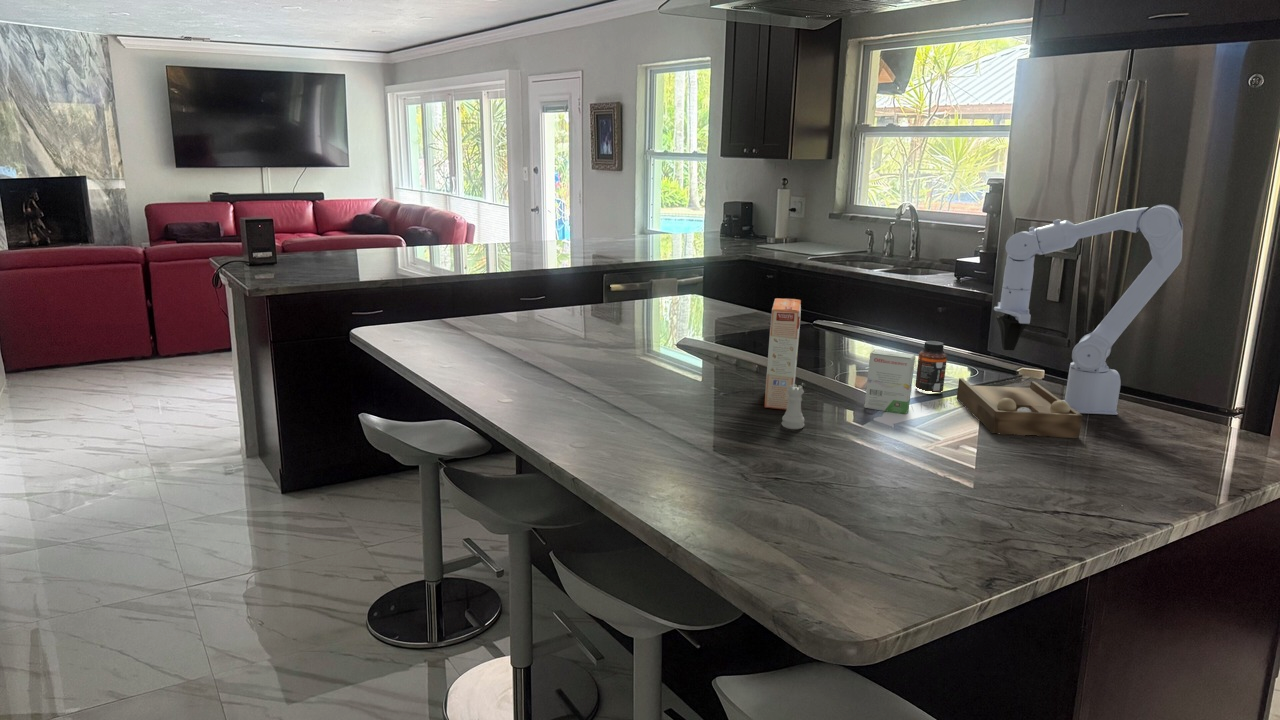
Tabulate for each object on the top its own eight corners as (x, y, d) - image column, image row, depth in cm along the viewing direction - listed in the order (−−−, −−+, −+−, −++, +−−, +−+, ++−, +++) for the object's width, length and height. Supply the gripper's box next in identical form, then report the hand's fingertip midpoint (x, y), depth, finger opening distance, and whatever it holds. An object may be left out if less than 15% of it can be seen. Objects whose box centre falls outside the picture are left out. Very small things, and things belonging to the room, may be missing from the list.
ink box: (863, 408, 178) (869, 353, 175) (868, 402, 182) (873, 348, 179) (906, 414, 174) (912, 358, 171) (910, 408, 179) (916, 353, 176)
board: (1031, 401, 186) (1034, 381, 185) (1078, 438, 163) (1082, 415, 161) (956, 398, 187) (959, 378, 186) (992, 434, 164) (995, 411, 162)
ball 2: (1064, 415, 166) (1066, 398, 166) (1071, 420, 163) (1074, 403, 162) (1046, 414, 167) (1048, 397, 166) (1053, 419, 163) (1055, 402, 163)
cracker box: (793, 411, 174) (800, 310, 169) (763, 408, 175) (769, 308, 170) (795, 392, 188) (802, 298, 182) (767, 390, 189) (773, 296, 184)
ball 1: (1011, 412, 167) (1013, 396, 166) (1017, 418, 164) (1020, 401, 163) (993, 411, 167) (995, 395, 166) (999, 417, 164) (1001, 400, 163)
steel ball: (1029, 410, 172) (1035, 406, 168) (1029, 426, 171) (1035, 423, 168) (1012, 408, 172) (1018, 404, 169) (1011, 424, 171) (1017, 420, 168)
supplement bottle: (944, 396, 188) (950, 346, 185) (916, 394, 189) (921, 344, 186) (940, 389, 193) (946, 340, 190) (913, 387, 194) (918, 338, 192)
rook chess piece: (806, 424, 166) (809, 384, 164) (802, 431, 162) (805, 390, 160) (783, 421, 168) (786, 382, 166) (779, 428, 164) (781, 388, 162)
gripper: (986, 282, 191) (979, 341, 195) (1009, 293, 177) (1000, 356, 181) (1019, 283, 191) (1011, 342, 194) (1044, 294, 177) (1035, 358, 180)
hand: (1008, 349), depth 187 cm, fingers closed
